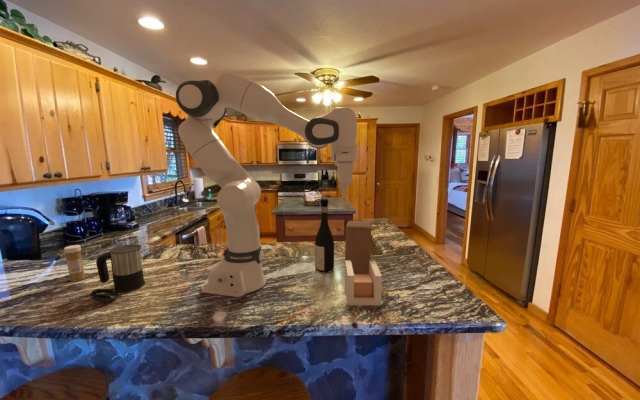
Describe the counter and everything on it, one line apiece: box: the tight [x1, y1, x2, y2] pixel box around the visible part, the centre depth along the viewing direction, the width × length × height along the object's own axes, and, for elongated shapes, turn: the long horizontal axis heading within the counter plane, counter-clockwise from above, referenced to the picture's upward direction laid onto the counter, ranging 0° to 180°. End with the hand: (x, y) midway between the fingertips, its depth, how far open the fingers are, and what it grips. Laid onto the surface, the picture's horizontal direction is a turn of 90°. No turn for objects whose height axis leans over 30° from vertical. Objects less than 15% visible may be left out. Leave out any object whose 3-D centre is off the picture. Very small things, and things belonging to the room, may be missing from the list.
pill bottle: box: [63, 244, 86, 283], centre depth 100 cm, size 5×5×13 cm
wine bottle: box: [314, 198, 335, 274], centre depth 106 cm, size 8×8×30 cm
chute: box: [344, 260, 383, 306], centre depth 88 cm, size 11×12×10 cm
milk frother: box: [90, 244, 146, 303], centre depth 90 cm, size 14×16×15 cm
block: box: [354, 274, 372, 298], centre depth 88 cm, size 6×6×6 cm
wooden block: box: [344, 220, 373, 274], centre depth 107 cm, size 10×10×20 cm
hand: (343, 195), depth 93 cm, fingers closed
